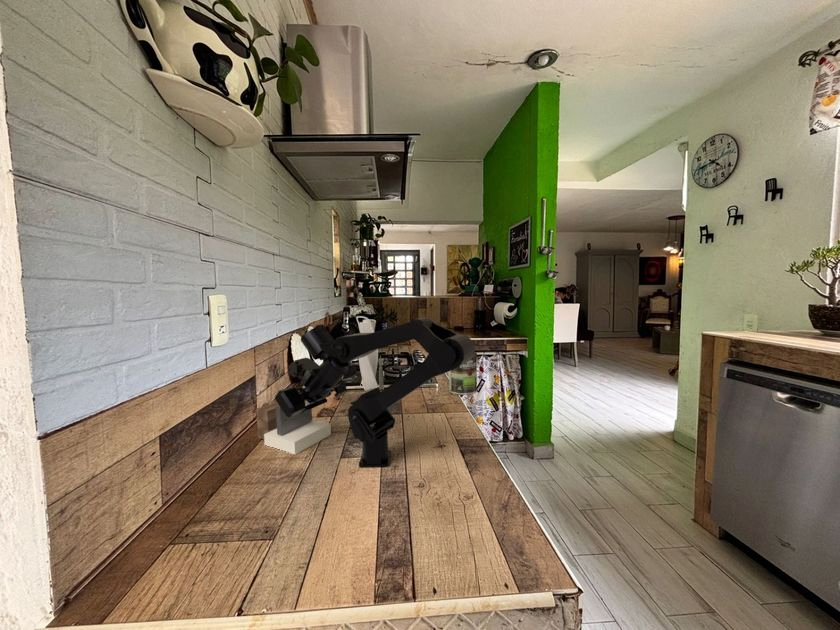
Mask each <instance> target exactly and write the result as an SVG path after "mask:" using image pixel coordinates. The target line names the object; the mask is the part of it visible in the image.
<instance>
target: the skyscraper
mask: <svg viewBox="0 0 840 630" xmlns="http://www.w3.org/2000/svg"><path fill="white" fill-rule="evenodd" d="M359 318H360V319H361V318H363V320H362V321H359ZM355 319H356V322H357V325H358V329H359V333H374V332H375V329H376V323H377V321H376V320H375V319H371V318H370V319H369V318H368V317H366V316H361V315H357V316H356V317H355ZM378 350H379V349H377V350H375V351H374V352H372V353H370V354H368V355H366V356H364V357H362V358H359V359H358V363H359V364H358V365H359V370H360V375H361V382H360V385H361V384H362V385H363V388H364V390H363V391H364V392H365V393H366V392H368V391H370V390H373V389H375V388H376V387H378V385H379V389H380V391H382V390H381V389H383V390H384V388H385V387H384V374H383V371H384V370H383V367H382V356H381V355H380V356H379V351H378ZM378 359H379V360H378ZM378 361H379V362H378ZM378 363H379V367H378ZM377 370H378V382H377V380H376V376H377ZM383 387H384V388H383Z"/></svg>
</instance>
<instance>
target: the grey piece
mask: <svg viewBox="0 0 840 630" xmlns="http://www.w3.org/2000/svg"><path fill="white" fill-rule="evenodd" d="M312 410H313V408H312V409H310V410H307V411H305V412H303V413H300V414H297V415H295V416H292V417H287V416H286V415H285V413H284V412H283V410H282V409H281V407H280V406H279V405H278V406H276V422H277V434H278V435H284V434H286V433H288V432H290V431H292V430H294V429H296V428H298V427H300V426H303V425H305V424H307V423H309V422H311V421H312V420H313V412H312Z"/></svg>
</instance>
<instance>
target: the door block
mask: <svg viewBox="0 0 840 630" xmlns="http://www.w3.org/2000/svg"><path fill="white" fill-rule="evenodd" d="M331 427H332V425H331V423H328V422H324V421H320V420H315V419H312V421H311V422H309V423H307V424H305V425H303V426H300V427H298V428H296V429H294V430H292V431H290V432H288V433H286V434H284V435H278V434H277V429H275V430H272V431H270V432H268V433H266V434H264V440H263V442H264V446H265V445H267V446H270V447H274V448H277V449H280V450H279V451H281V450H283V451H282V452H284V451H286V452H285V453H288V452H289V453H288V454H292V455H294V456H295V455H297V454H299V453H300V452H301V453H302V452H303V451H304V450H306V449H308V448H309V447H312V446H313V445H315V444H316V443H319V442H320V441H322V440H325V438H328V437H330V436H331V435H332V431H331V430H332V428H331ZM267 446H266V447H267ZM270 447H269V448H270ZM274 448H273V449H274ZM277 449H276V450H277Z"/></svg>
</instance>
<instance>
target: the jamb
mask: <svg viewBox="0 0 840 630" xmlns="http://www.w3.org/2000/svg"><path fill="white" fill-rule="evenodd" d="M278 405H279V404H278V403H277V401H274V402H272V403H268V404H266V405H263V406H261V407H258V408H256V421H257V438H258V437H259V438H262V439H264V434H266V433H268V432H270V431H272V430H275V429H277V422H276V406H278Z"/></svg>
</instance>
